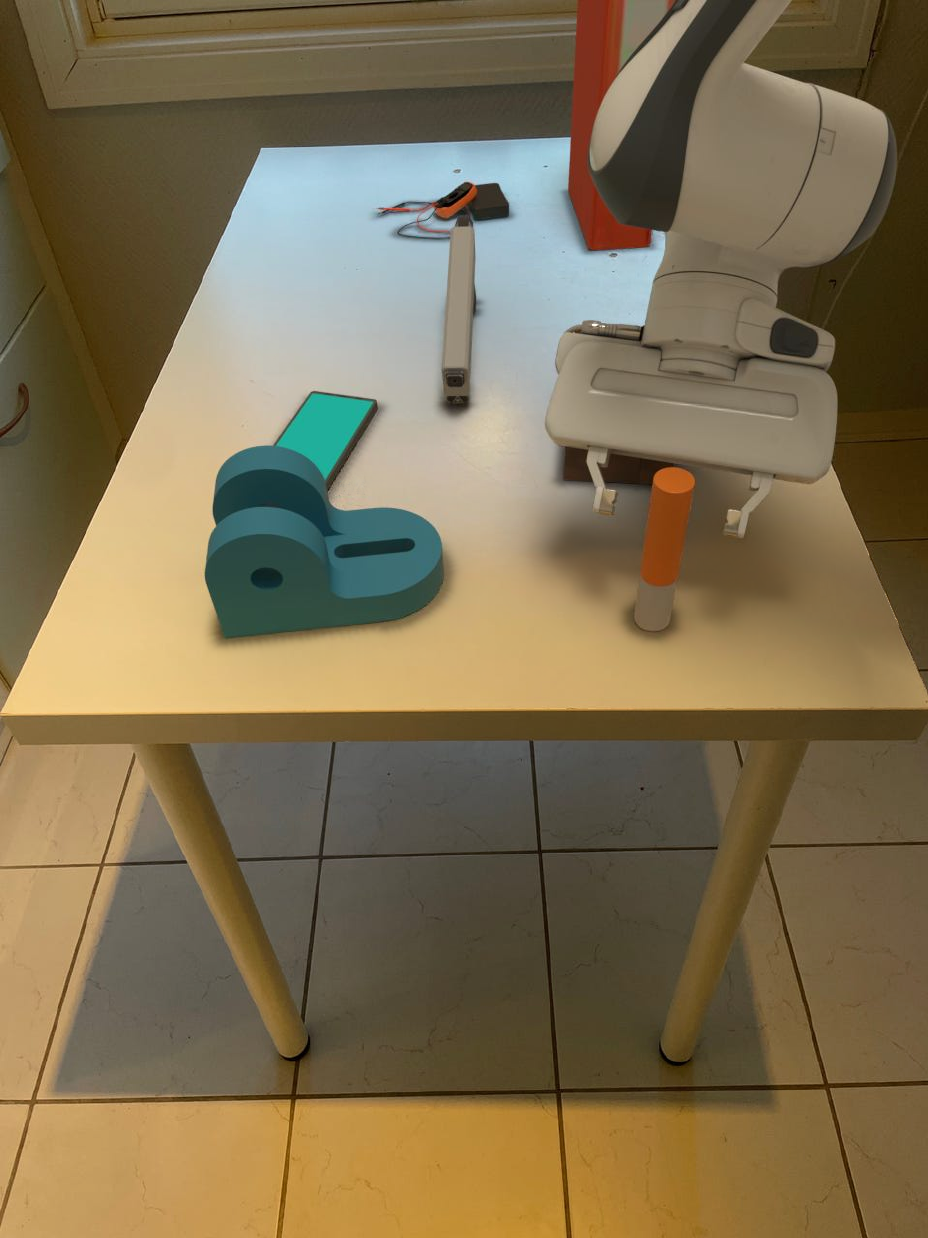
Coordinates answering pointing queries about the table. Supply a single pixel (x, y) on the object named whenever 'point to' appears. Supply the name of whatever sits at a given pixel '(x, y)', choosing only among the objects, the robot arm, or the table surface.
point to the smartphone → (327, 429)
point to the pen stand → (612, 466)
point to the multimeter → (465, 203)
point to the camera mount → (310, 551)
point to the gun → (459, 312)
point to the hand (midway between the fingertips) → (666, 525)
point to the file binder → (605, 38)
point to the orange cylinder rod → (663, 547)
